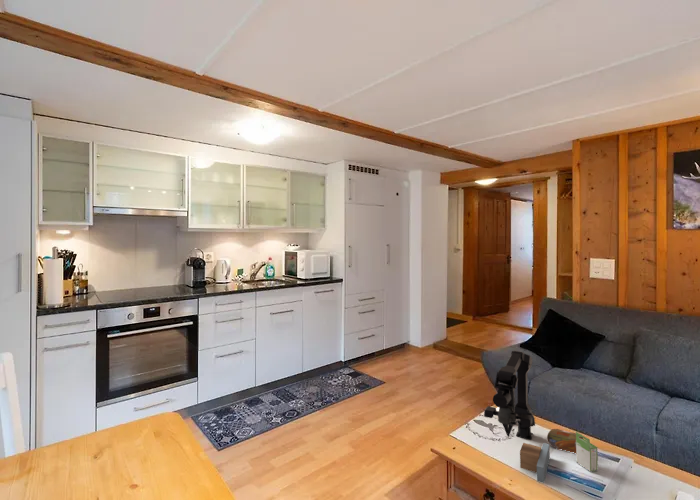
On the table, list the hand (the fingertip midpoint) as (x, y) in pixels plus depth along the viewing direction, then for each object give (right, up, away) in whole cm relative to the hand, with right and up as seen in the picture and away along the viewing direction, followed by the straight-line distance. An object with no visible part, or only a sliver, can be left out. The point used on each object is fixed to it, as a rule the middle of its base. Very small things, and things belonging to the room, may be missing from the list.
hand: (508, 435), depth 157 cm
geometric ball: (+12, -10, +35) cm, 38 cm away
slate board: (+11, -10, -7) cm, 17 cm away
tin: (+29, -10, +6) cm, 31 cm away
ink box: (+30, -10, -7) cm, 32 cm away
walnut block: (+8, -10, -5) cm, 14 cm away
